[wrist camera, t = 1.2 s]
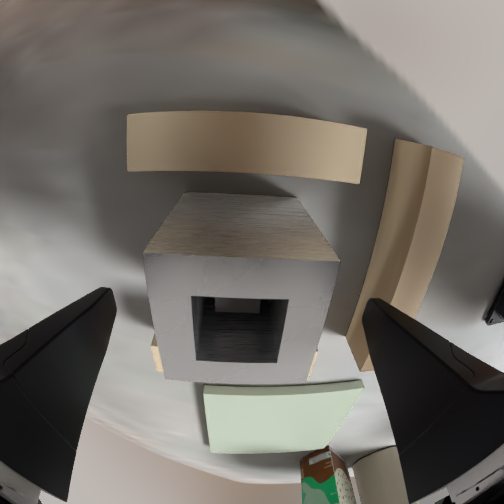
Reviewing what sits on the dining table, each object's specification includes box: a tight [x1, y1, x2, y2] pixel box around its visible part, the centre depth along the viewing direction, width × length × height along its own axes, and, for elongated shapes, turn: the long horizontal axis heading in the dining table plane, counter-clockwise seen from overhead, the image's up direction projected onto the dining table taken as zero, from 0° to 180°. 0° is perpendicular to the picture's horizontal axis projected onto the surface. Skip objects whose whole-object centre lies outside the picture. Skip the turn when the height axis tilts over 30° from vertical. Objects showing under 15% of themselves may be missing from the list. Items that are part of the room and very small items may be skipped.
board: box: [203, 380, 365, 454], centre depth 21 cm, size 12×12×1 cm
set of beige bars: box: [127, 111, 464, 377], centre depth 12 cm, size 13×12×4 cm
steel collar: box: [143, 192, 341, 384], centre depth 10 cm, size 5×5×6 cm
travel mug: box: [353, 447, 419, 504], centre depth 22 cm, size 8×8×18 cm
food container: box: [300, 446, 356, 504], centre depth 23 cm, size 12×6×10 cm, turn 28°
